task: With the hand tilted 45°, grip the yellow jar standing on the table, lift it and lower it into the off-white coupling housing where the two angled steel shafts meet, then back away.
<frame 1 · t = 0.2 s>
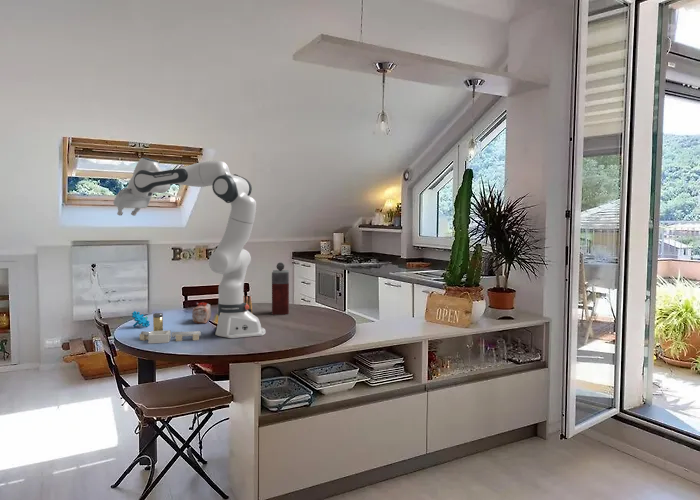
hand: (126, 215, 255), 54 cm above the table, tool tilted 30°, fingers open, 8 cm apart
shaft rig: (159, 340, 229), on the table
food item: (202, 321, 270), on the table
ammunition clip: (242, 318, 278), on the table
red grey bottle: (280, 313, 294), on the table
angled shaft: (146, 335, 231), on the table
yellow jar: (158, 335, 238), on the table
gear: (141, 327, 257), on the table
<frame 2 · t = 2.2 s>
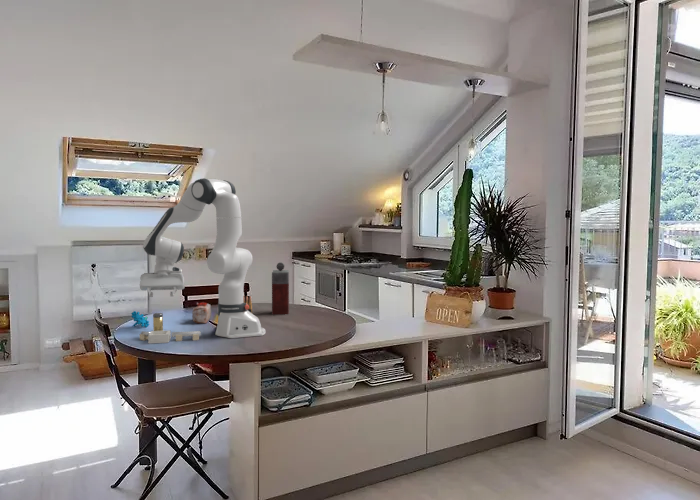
hand: (161, 296, 249), 16 cm above the table, tool tilted 45°, fingers open, 8 cm apart
nothing on the table moved.
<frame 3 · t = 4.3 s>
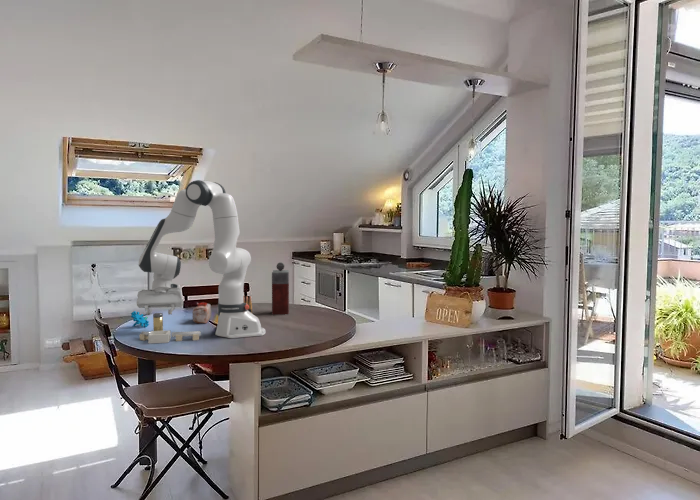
hand: (158, 314, 241), 9 cm above the table, tool tilted 45°, fingers open, 8 cm apart
nothing on the table moved.
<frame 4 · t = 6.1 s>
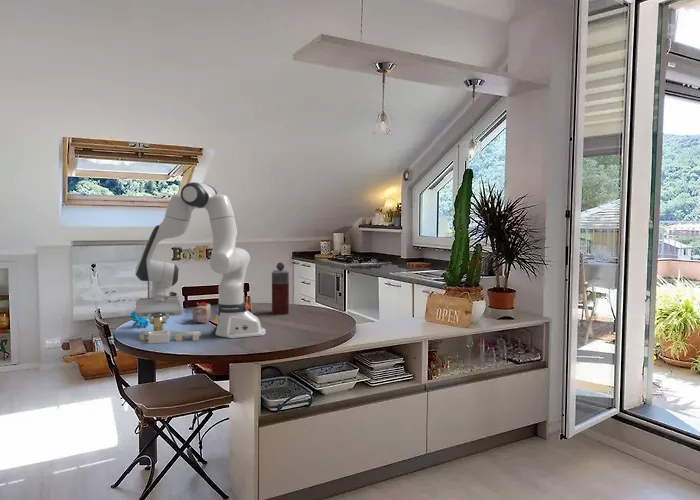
hand: (157, 323, 237), 6 cm above the table, tool tilted 45°, fingers closed on yellow jar, 4 cm apart
yellow jar: (158, 335, 238), on the table, touching gripper
everything else where it was.
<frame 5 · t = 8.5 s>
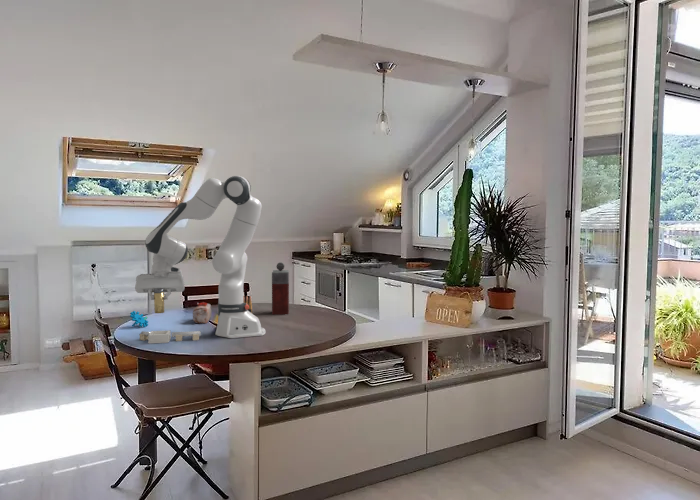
hand: (158, 299, 227), 18 cm above the table, tool tilted 45°, fingers closed on yellow jar, 4 cm apart
yellow jar: (159, 312, 228), point 12 cm above the table, touching gripper
everything else where it was.
when the fingers open (8 cm above the table, at t = 10.7 s): yellow jar drops 1 cm, resting on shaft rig.
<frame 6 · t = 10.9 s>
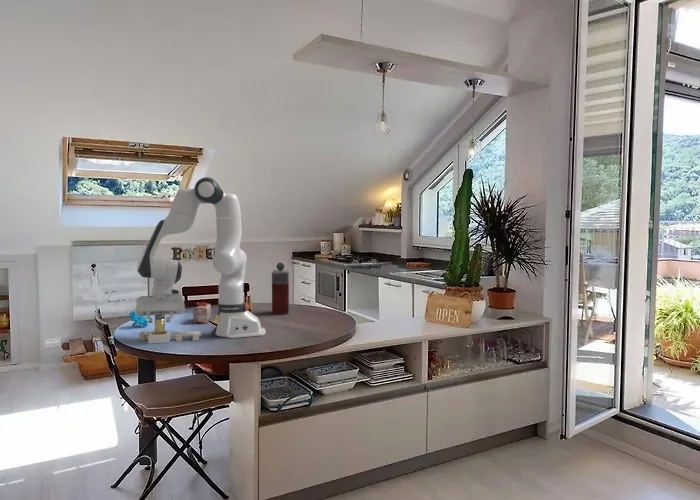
hand: (159, 321, 228), 8 cm above the table, tool tilted 45°, fingers open, 6 cm apart
yellow jar: (159, 338, 229), point 1 cm above the table, touching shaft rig
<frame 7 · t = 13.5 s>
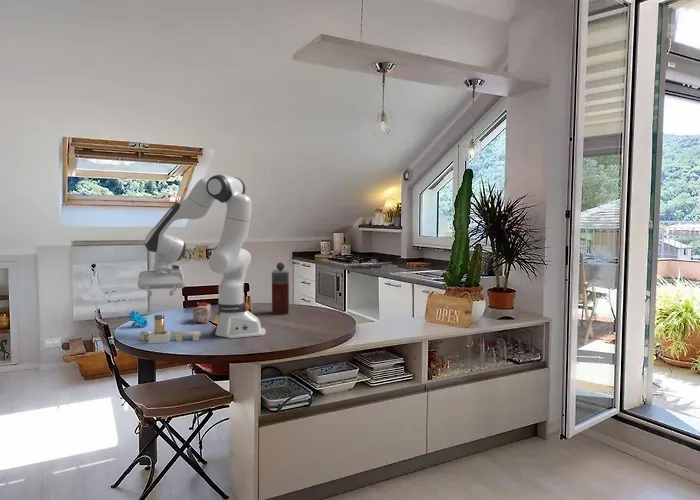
hand: (160, 295, 239), 18 cm above the table, tool tilted 45°, fingers open, 8 cm apart
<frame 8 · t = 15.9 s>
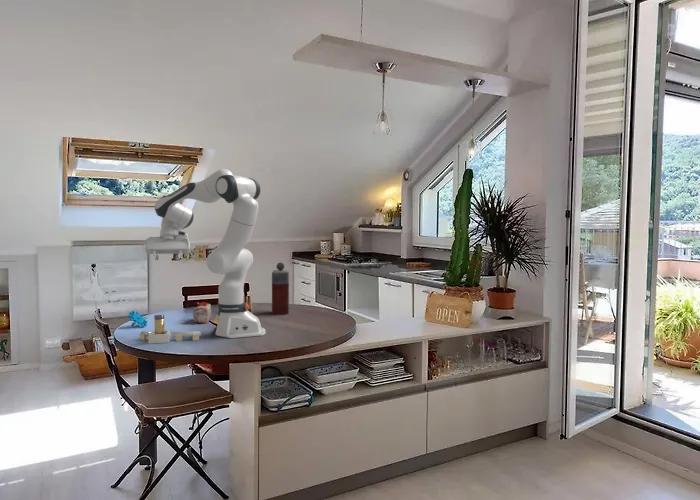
hand: (167, 259, 247), 33 cm above the table, tool tilted 45°, fingers open, 8 cm apart
at the end: yellow jar 0.0 cm off-centre on the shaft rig, point 1.0 cm above the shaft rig's base; yellow jar tilted 0°; the gripper is holding nothing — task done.
